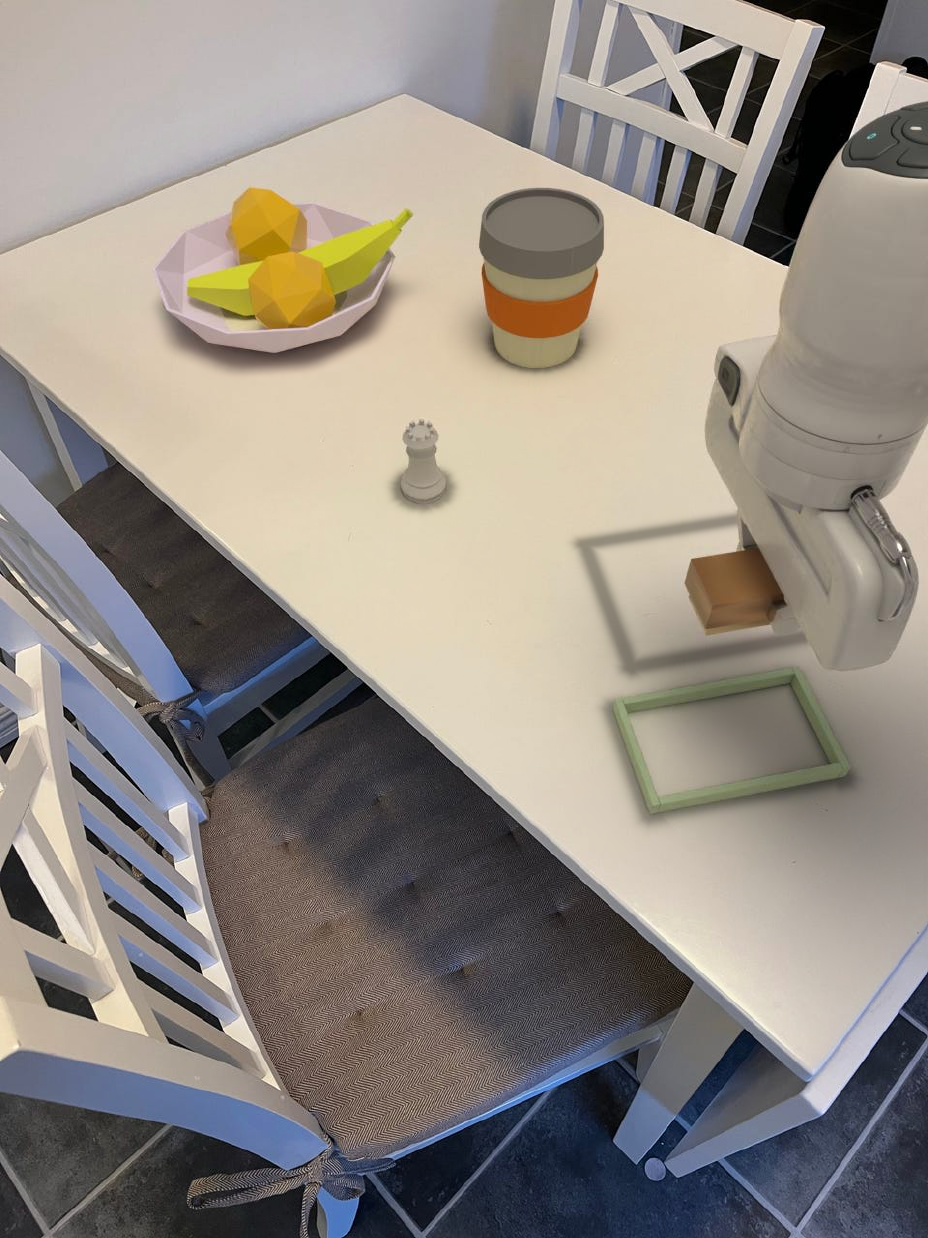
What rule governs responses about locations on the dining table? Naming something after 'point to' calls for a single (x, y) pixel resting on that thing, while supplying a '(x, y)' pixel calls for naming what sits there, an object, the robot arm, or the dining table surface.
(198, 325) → the fruit bowl
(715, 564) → the tan wooden brick
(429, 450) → the rook chess piece
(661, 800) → the rectangular frame
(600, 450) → the dining table surface
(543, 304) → the reusable coffee cup
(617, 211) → the dining table surface
